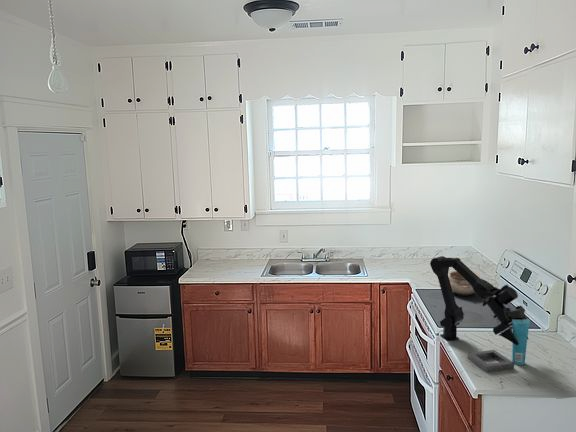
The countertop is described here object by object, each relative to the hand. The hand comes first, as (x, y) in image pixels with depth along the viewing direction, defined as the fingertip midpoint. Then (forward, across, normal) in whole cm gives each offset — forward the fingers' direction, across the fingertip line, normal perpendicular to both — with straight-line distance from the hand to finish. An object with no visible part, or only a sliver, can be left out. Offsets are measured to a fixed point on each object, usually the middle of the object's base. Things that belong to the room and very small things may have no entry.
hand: (522, 342), depth 203 cm
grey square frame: (+1, -10, +13) cm, 16 cm away
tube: (+6, 0, +8) cm, 10 cm away
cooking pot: (-40, +62, +54) cm, 91 cm away
